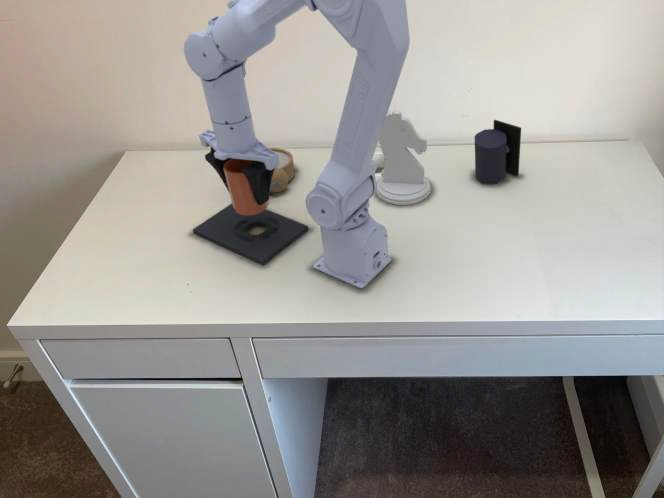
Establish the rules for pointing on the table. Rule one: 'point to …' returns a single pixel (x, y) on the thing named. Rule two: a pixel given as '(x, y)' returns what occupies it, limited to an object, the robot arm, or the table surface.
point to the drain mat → (259, 248)
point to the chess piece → (401, 162)
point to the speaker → (497, 152)
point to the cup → (241, 188)
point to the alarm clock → (282, 170)
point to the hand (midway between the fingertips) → (249, 196)
